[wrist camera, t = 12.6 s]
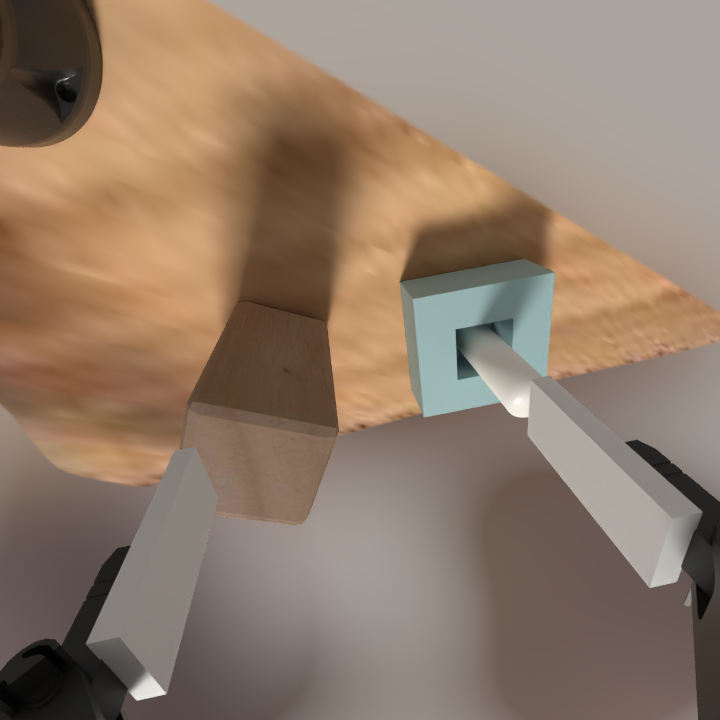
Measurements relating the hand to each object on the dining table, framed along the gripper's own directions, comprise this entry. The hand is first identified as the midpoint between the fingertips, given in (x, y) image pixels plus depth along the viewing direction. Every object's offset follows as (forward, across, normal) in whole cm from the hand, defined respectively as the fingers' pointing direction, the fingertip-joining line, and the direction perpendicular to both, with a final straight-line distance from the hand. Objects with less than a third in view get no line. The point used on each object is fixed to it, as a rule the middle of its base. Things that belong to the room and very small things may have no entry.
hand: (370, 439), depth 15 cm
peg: (+28, +14, -10) cm, 33 cm away
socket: (+29, +14, -10) cm, 33 cm away
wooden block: (+29, -8, -8) cm, 31 cm away
